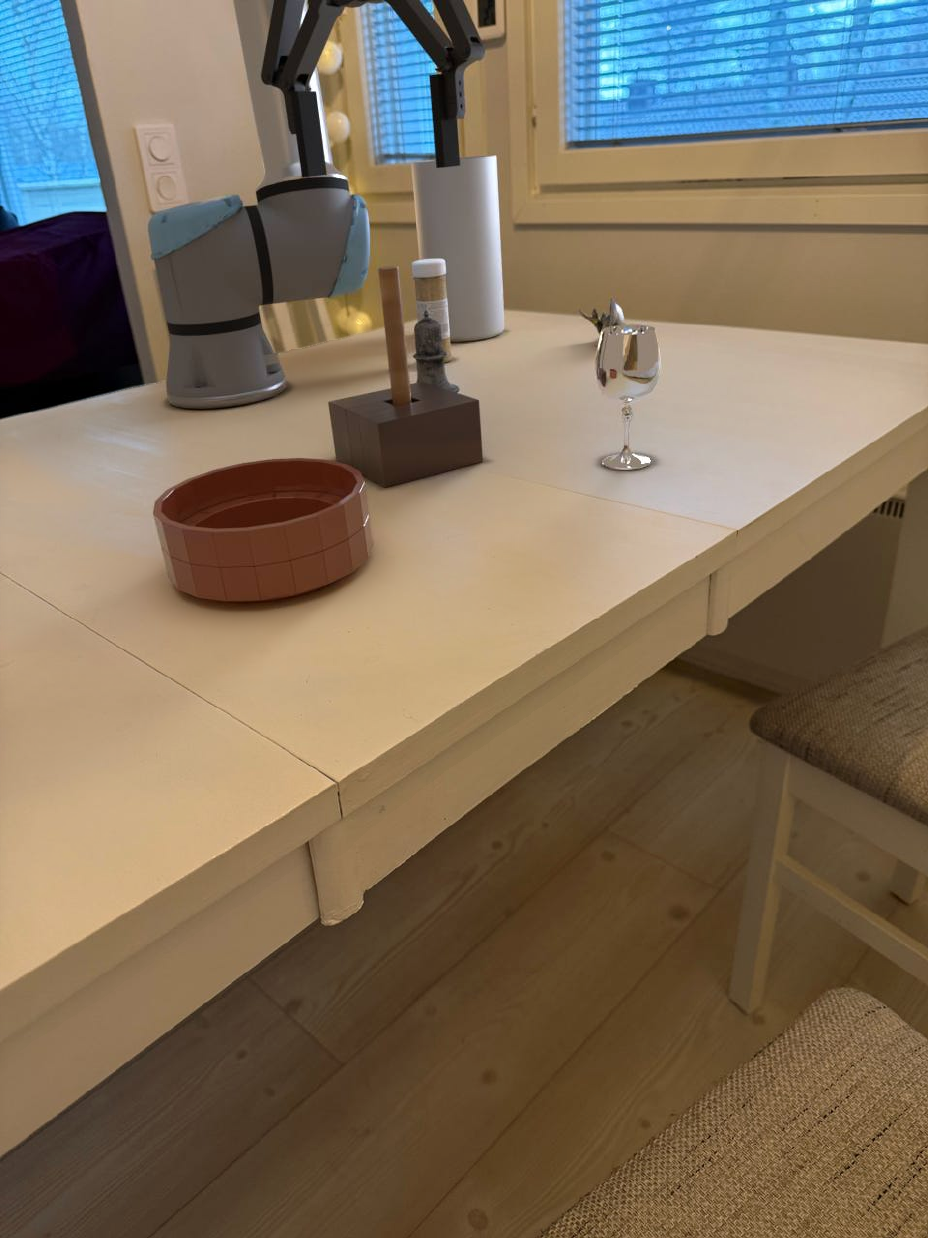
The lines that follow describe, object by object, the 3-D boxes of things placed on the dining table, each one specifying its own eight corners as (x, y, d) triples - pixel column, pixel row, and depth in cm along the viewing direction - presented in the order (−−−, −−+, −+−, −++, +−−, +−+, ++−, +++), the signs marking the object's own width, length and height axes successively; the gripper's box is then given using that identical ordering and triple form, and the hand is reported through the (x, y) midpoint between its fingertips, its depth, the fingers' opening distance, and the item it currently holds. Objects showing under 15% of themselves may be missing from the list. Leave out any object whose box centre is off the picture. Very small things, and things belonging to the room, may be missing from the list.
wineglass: (619, 476, 82) (620, 339, 76) (582, 460, 86) (581, 329, 81) (670, 463, 84) (675, 328, 78) (632, 448, 88) (634, 320, 83)
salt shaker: (455, 429, 98) (447, 314, 93) (403, 430, 100) (391, 316, 94) (466, 414, 104) (458, 304, 98) (416, 415, 105) (406, 306, 99)
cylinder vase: (481, 344, 137) (470, 158, 126) (411, 341, 143) (394, 163, 132) (518, 327, 147) (511, 153, 135) (451, 325, 153) (438, 158, 141)
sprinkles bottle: (449, 356, 132) (441, 256, 125) (455, 362, 128) (448, 259, 121) (417, 359, 131) (408, 259, 125) (423, 366, 127) (414, 263, 121)
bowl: (148, 561, 72) (130, 489, 69) (324, 513, 79) (313, 445, 76) (208, 633, 61) (189, 550, 58) (408, 570, 67) (400, 492, 64)
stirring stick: (395, 461, 90) (374, 267, 82) (411, 457, 91) (392, 265, 83) (404, 465, 89) (383, 269, 81) (420, 461, 90) (401, 266, 81)
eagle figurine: (567, 336, 132) (600, 333, 124) (586, 289, 132) (620, 283, 124) (608, 359, 136) (642, 357, 128) (627, 313, 135) (662, 309, 127)
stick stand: (336, 460, 92) (327, 401, 89) (428, 438, 96) (422, 381, 94) (385, 487, 84) (377, 423, 81) (483, 461, 88) (479, 399, 85)
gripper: (186, -121, 71) (237, 182, 81) (470, -198, 60) (489, 164, 69) (248, -104, 77) (289, 176, 86) (518, -172, 65) (530, 159, 75)
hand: (378, 172), depth 78 cm, fingers open, 13 cm apart
